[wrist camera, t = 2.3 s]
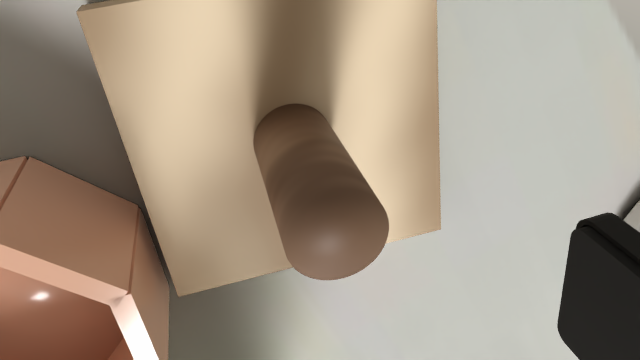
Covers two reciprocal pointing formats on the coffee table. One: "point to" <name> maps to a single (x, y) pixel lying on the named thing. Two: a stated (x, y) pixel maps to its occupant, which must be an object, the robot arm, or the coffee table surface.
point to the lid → (274, 129)
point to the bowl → (76, 271)
